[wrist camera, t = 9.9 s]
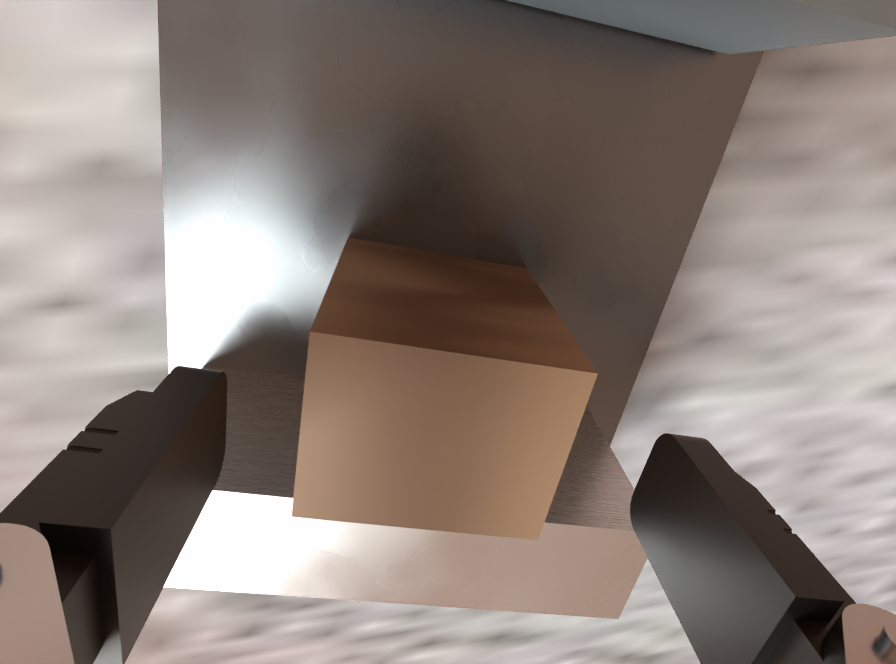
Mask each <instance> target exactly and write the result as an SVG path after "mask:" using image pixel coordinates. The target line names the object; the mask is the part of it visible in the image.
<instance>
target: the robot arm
mask: <svg viewBox="0 0 896 664" xmlns="http://www.w3.org/2000/svg"><path fill="white" fill-rule="evenodd" d="M226 419H227V376H226V374H225V372H221V371H214V370H207V369H199V368H192V367H185V366H177V367H175V368H174V369H173V370H172V371H171V372H170V373H169V374H168V376H167V377H166V378H165V379H164V380H163V381H162V382H161V384H160V385H159V386H158V387H157V388H156V389H155V390H154V392H146V391H139V390H137V391H135V392H133V393H131V394H129V395H127V396H125V397H123V398H121V399H119V400H117V401H115V402H113V403H111V404H109V405H107V406H106V407H105V408H104V409H103V410H102V411H101V412H100V413H99V414H98V415H97V416H96V417H95V418H94V419H93V420H92V421H91V422H90V423H89V424H88V425H87V426H86V428H85V431H81V432H80V433H79V434H78V435H77V436H76V437H75V438H74V439H73V440H72V441H71V442H70V443H69V444H68V447H67V450H62V451H61V452H60V453H59V454H58V455H57V456H56V457H55V458H54V459H53V460H52V461H51V462H50V463H49V464H48V465H47V466H46V467H45V468H44V469H43V471H42V472H41V473H40V474H39V475H38V476H37V477H36V478H35V479H34V480H33V481H32V482H31V483H30V484H29V485H28V486H27V487H26V488H25V489H24V490H23V491H22V492H21V493H20V494H19V495H18V496H17V497H16V498H15V499H14V500H13V501H12V502H11V503H10V504H9V505H8V506H7V507H6V508H5V509H4V510H3V511H2V512H1V513H0V664H124V663H125V661H126V659H127V658H128V656H129V654H130V652H131V650H132V648H133V646H134V644H135V642H136V640H137V638H138V636H139V634H140V632H141V630H142V628H143V626H144V624H145V622H146V620H147V618H148V616H149V614H150V612H151V610H152V608H153V606H154V604H155V603H156V601H157V599H158V597H159V595H160V593H161V591H162V589H163V587H164V585H165V583H166V581H167V579H168V577H169V575H170V573H171V571H172V569H173V567H174V565H175V563H176V561H177V559H178V557H179V555H180V553H181V551H182V550H183V548H184V546H185V544H186V542H187V540H188V538H189V536H190V534H191V532H192V530H193V528H194V526H195V524H196V522H197V520H198V518H199V516H200V514H201V512H202V510H203V508H204V506H205V504H206V502H207V500H208V498H209V496H210V495H211V493H212V491H213V489H214V487H215V485H216V483H217V480H218V478H219V475H220V472H221V469H222V465H223V461H224V456H225V448H226ZM775 511H776V510H775V509H774V508H773V507H772V506H771V505H770V503H769V502H768V501H767V500H766V499H765V498H764V497H763V495H762V494H761V493H760V492H759V491H758V490H757V488H755V487H754V486H753V485H751V484H750V483H749V482H748V481H746V480H745V479H744V478H742V477H741V476H740V475H738V474H737V473H736V472H734V470H733V469H732V468H731V467H730V466H729V464H728V463H727V462H726V461H725V460H724V459H723V457H722V456H721V455H720V454H719V453H718V451H717V450H716V449H715V448H714V447H713V446H712V444H711V443H710V442H709V441H707V440H706V439H703V438H697V437H690V436H682V435H675V434H663V435H661V436H660V437H659V438H658V439H657V440H656V442H655V444H654V446H653V448H652V451H651V453H650V455H649V458H648V460H647V462H646V465H645V467H644V469H643V472H642V474H641V476H640V478H639V481H638V483H637V485H636V488H635V490H634V492H633V495H632V498H631V503H630V518H631V523H632V527H633V529H634V531H635V533H636V535H637V537H638V539H639V541H640V543H641V545H642V547H643V549H644V551H645V553H646V555H647V557H648V559H649V561H650V563H651V565H652V567H653V569H654V571H655V573H656V575H657V577H658V579H659V581H660V583H661V585H662V587H663V589H664V591H665V593H666V595H667V597H668V599H669V601H670V603H671V605H672V607H673V609H674V611H675V613H676V615H677V617H678V619H679V621H680V623H681V625H682V627H683V629H684V631H685V633H686V635H687V637H688V639H689V641H690V643H691V645H692V647H693V649H694V651H695V653H696V655H697V657H698V659H699V661H700V663H701V664H896V615H895V614H893V613H891V612H888V611H886V610H884V609H881V608H878V607H875V606H871V605H867V604H856V603H855V601H854V600H853V599H852V598H851V597H850V596H849V595H848V593H847V592H846V591H845V590H844V589H843V588H842V586H841V585H840V584H839V583H838V582H837V581H836V580H835V578H834V577H833V576H832V575H831V574H830V573H829V571H828V570H827V569H826V568H825V567H824V566H823V565H822V563H821V562H820V561H819V560H818V559H817V558H816V556H815V555H814V554H813V553H812V552H811V551H810V550H809V548H808V547H807V546H806V545H805V544H804V543H803V541H802V540H801V539H800V538H799V537H798V536H797V535H796V534H792V532H791V530H792V529H791V528H790V527H789V525H788V524H787V523H786V522H785V521H784V520H783V518H782V517H781V516H780V515H776V514H775Z"/></svg>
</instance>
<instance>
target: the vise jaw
mask: <svg viewBox="0 0 896 664" xmlns="http://www.w3.org/2000/svg"><path fill="white" fill-rule="evenodd" d="M507 1H511V2H515V3H519V4H523V5H528V6H532V7H536V8H540V9H544V10H548V11H552V12H556V13H560V14H565V15H569V16H573V17H577V18H581V19H585V20H589V21H593V22H597V23H602V24H606V25H610V26H614V27H618V28H622V29H626V30H630V31H634V32H638V33H643V34H647V35H651V36H655V37H659V38H663V39H667V40H671V41H675V42H680V43H684V44H688V45H692V46H696V47H700V48H704V49H708V50H712V51H716V52H721V53H725V54H737V53H746V52H755V51H764V50H773V49H782V48H791V47H800V46H809V45H817V44H826V43H835V42H844V41H853V40H862V39H871V38H880V37H889V36H896V0H507Z"/></svg>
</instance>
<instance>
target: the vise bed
mask: <svg viewBox="0 0 896 664" xmlns="http://www.w3.org/2000/svg"><path fill="white" fill-rule="evenodd" d="M158 30H159V64H160V98H161V132H162V166H163V200H164V234H165V268H166V302H167V336H168V369H169V373H170V372H171V371H172V370H173V369H174V368H175V367H177V366H185V367H192V368H199V369H207V370H214V371H221V372H225V374H226V376H227V419H226V448H225V456H224V461H223V465H222V469H221V472H220V475H219V478H218V480H217V483H216V485H215V487H214V489H213V491H212V493H211V495H210V496H209V498H208V500H207V502H206V504H205V506H204V508H203V510H202V512H201V514H200V516H199V518H198V520H197V522H196V524H195V526H194V528H193V530H192V532H191V534H190V536H189V538H188V540H187V542H186V544H185V546H184V548H183V550H182V551H181V553H180V555H179V557H178V559H177V561H176V563H175V565H174V567H173V569H172V571H171V573H170V575H169V577H168V579H167V581H166V583H165V585H164V587H172V588H186V589H200V590H214V591H229V592H243V593H257V594H272V595H286V596H300V597H314V598H329V599H343V600H357V601H371V602H386V603H400V604H414V605H428V606H443V607H457V608H471V609H485V610H500V611H514V612H528V613H542V614H557V615H571V616H585V617H599V618H614V619H619V617H620V615H621V612H622V610H623V608H624V606H625V604H626V602H627V600H628V598H629V596H630V594H631V591H632V589H633V587H634V585H635V583H636V581H637V579H638V577H639V575H640V573H641V570H642V568H643V566H644V564H645V562H646V560H647V558H648V557H647V555H646V553H645V551H644V549H643V547H642V545H641V543H640V541H639V539H638V537H637V535H636V533H635V531H634V529H633V527H632V523H631V518H630V503H631V498H632V495H633V492H634V488H633V487H632V485H631V483H630V481H629V479H628V478H627V476H626V474H625V472H624V471H623V469H622V467H621V465H620V464H619V462H618V460H617V458H616V457H615V455H614V453H613V451H612V449H611V448H610V444H611V441H612V439H613V436H614V434H615V431H616V429H617V426H618V423H619V421H620V418H621V416H622V413H623V411H624V408H625V406H626V403H627V400H628V398H629V395H630V393H631V390H632V388H633V385H634V382H635V380H636V377H637V375H638V372H639V370H640V367H641V364H642V362H643V359H644V357H645V354H646V352H647V349H648V346H649V344H650V341H651V339H652V336H653V334H654V331H655V328H656V326H657V323H658V321H659V318H660V316H661V313H662V311H663V308H664V305H665V303H666V300H667V298H668V295H669V293H670V290H671V287H672V285H673V282H674V280H675V277H676V275H677V272H678V269H679V267H680V264H681V262H682V259H683V257H684V254H685V251H686V249H687V246H688V244H689V241H690V239H691V236H692V233H693V231H694V228H695V226H696V223H697V221H698V218H699V215H700V213H701V210H702V208H703V205H704V203H705V200H706V198H707V195H708V192H709V190H710V187H711V185H712V182H713V180H714V177H715V174H716V172H717V169H718V167H719V164H720V162H721V159H722V156H723V154H724V151H725V149H726V146H727V144H728V141H729V138H730V136H731V133H732V131H733V128H734V126H735V123H736V120H737V118H738V115H739V113H740V110H741V108H742V105H743V103H744V100H745V97H746V95H747V92H748V90H749V87H750V85H751V82H752V79H753V77H754V74H755V72H756V69H757V67H758V64H759V61H760V59H761V56H762V54H763V51H755V52H746V53H737V54H725V53H721V52H716V51H712V50H708V49H704V48H700V47H696V46H692V45H688V44H684V43H680V42H675V41H671V40H667V39H663V38H659V37H655V36H651V35H647V34H643V33H638V32H634V31H630V30H626V29H622V28H618V27H614V26H610V25H606V24H602V23H597V22H593V21H589V20H585V19H581V18H577V17H573V16H569V15H565V14H560V13H556V12H552V11H548V10H544V9H540V8H536V7H532V6H528V5H523V4H519V3H515V2H511V1H507V0H158ZM348 237H350V238H355V239H361V240H367V241H373V242H378V243H384V244H390V245H396V246H401V247H407V248H413V249H419V250H424V251H430V252H436V253H442V254H448V255H453V256H459V257H465V258H471V259H476V260H482V261H488V262H494V263H499V264H505V265H511V266H517V267H522V268H527V269H528V270H529V272H530V273H531V275H532V276H533V278H534V279H535V281H536V282H537V284H538V285H539V287H540V288H541V290H542V291H543V293H544V294H545V296H546V297H547V299H548V300H549V301H550V303H551V304H552V306H553V307H554V309H555V310H556V312H557V313H558V315H559V316H560V318H561V319H562V321H563V322H564V324H565V325H566V327H567V328H568V330H569V331H570V333H571V334H572V336H573V337H574V339H575V340H576V342H577V343H578V345H579V346H580V348H581V349H582V351H583V352H584V354H585V355H586V357H587V358H588V360H589V361H590V363H591V364H592V366H593V367H594V369H595V370H596V372H597V373H598V375H597V377H596V380H595V383H594V386H593V389H592V391H591V394H590V397H589V400H588V402H587V405H586V408H585V411H584V414H583V416H582V419H581V422H580V425H579V428H578V430H577V433H576V436H575V439H574V441H573V444H572V447H571V450H570V453H569V455H568V458H567V461H566V464H565V466H564V469H563V472H562V475H561V478H560V480H559V483H558V486H557V489H556V492H555V494H554V497H553V500H552V503H551V505H550V508H549V511H548V514H547V517H546V519H545V522H544V525H543V528H542V530H541V533H540V536H539V539H538V540H530V539H519V538H509V537H498V536H487V535H477V534H466V533H456V532H445V531H435V530H424V529H414V528H403V527H393V526H382V525H372V524H361V523H351V522H340V521H330V520H319V519H308V518H298V517H291V515H292V505H293V495H294V485H295V475H296V465H297V455H298V444H299V434H300V424H301V414H302V404H303V394H304V384H305V374H306V363H307V353H308V343H309V333H310V329H311V327H312V325H313V322H314V320H315V317H316V315H317V312H318V310H319V307H320V305H321V302H322V300H323V297H324V295H325V293H326V290H327V288H328V285H329V283H330V280H331V278H332V275H333V273H334V270H335V268H336V266H337V263H338V261H339V258H340V256H341V253H342V251H343V248H344V246H345V243H346V241H347V239H348Z"/></svg>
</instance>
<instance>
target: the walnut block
mask: <svg viewBox="0 0 896 664" xmlns="http://www.w3.org/2000/svg"><path fill="white" fill-rule="evenodd" d="M597 375H598V373H597V372H596V370H595V369H594V367H593V366H592V364H591V363H590V361H589V360H588V358H587V357H586V355H585V354H584V352H583V351H582V349H581V348H580V346H579V345H578V343H577V342H576V340H575V339H574V337H573V336H572V334H571V333H570V331H569V330H568V328H567V327H566V325H565V324H564V322H563V321H562V319H561V318H560V316H559V315H558V313H557V312H556V310H555V309H554V307H553V306H552V304H551V303H550V301H549V300H548V299H547V297H546V296H545V294H544V293H543V291H542V290H541V288H540V287H539V285H538V284H537V282H536V281H535V279H534V278H533V276H532V275H531V273H530V272H529V270H528V269H527V268H522V267H517V266H511V265H505V264H499V263H494V262H488V261H482V260H476V259H471V258H465V257H459V256H453V255H448V254H442V253H436V252H430V251H424V250H419V249H413V248H407V247H401V246H396V245H390V244H384V243H378V242H373V241H367V240H361V239H355V238H350V237H348V239H347V241H346V243H345V246H344V248H343V251H342V253H341V256H340V258H339V261H338V263H337V266H336V268H335V270H334V273H333V275H332V278H331V280H330V283H329V285H328V288H327V290H326V293H325V295H324V297H323V300H322V302H321V305H320V307H319V310H318V312H317V315H316V317H315V320H314V322H313V325H312V327H311V329H310V333H309V343H308V353H307V363H306V374H305V384H304V394H303V404H302V414H301V424H300V434H299V444H298V455H297V465H296V475H295V485H294V495H293V505H292V515H291V517H298V518H308V519H319V520H330V521H340V522H351V523H361V524H372V525H382V526H393V527H403V528H414V529H424V530H435V531H445V532H456V533H466V534H477V535H487V536H498V537H509V538H519V539H530V540H538V539H539V536H540V533H541V530H542V528H543V525H544V522H545V519H546V517H547V514H548V511H549V508H550V505H551V503H552V500H553V497H554V494H555V492H556V489H557V486H558V483H559V480H560V478H561V475H562V472H563V469H564V466H565V464H566V461H567V458H568V455H569V453H570V450H571V447H572V444H573V441H574V439H575V436H576V433H577V430H578V428H579V425H580V422H581V419H582V416H583V414H584V411H585V408H586V405H587V402H588V400H589V397H590V394H591V391H592V389H593V386H594V383H595V380H596V377H597Z"/></svg>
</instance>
